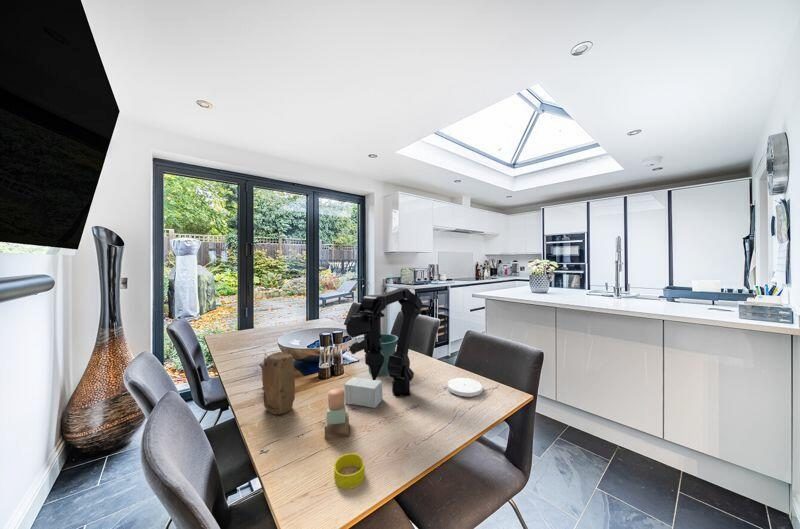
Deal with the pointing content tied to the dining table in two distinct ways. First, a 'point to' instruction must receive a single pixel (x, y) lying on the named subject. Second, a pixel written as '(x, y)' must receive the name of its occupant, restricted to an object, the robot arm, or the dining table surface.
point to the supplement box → (363, 392)
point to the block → (278, 382)
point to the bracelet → (352, 479)
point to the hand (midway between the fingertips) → (373, 374)
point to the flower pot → (387, 351)
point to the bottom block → (337, 429)
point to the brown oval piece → (336, 399)
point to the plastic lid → (464, 387)
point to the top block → (336, 416)
